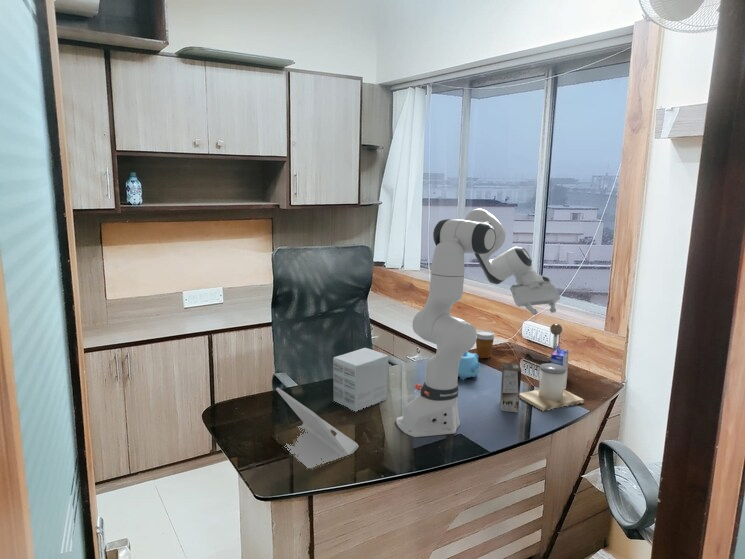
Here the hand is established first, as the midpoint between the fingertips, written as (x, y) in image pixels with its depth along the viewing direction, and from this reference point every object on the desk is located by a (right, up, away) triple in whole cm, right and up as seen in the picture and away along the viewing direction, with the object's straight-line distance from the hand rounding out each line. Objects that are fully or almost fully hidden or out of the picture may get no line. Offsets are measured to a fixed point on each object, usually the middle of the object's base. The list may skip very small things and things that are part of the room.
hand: (544, 313), depth 201 cm
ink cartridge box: (+13, -30, +22) cm, 40 cm away
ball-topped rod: (+3, -14, -4) cm, 14 cm away
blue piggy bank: (-28, -29, +24) cm, 47 cm away
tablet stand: (-86, -40, -36) cm, 101 cm away
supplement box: (-72, -34, -3) cm, 79 cm away
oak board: (+2, -34, 0) cm, 34 cm away
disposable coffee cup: (-13, -25, +49) cm, 57 cm away
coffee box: (-16, -35, -6) cm, 39 cm away
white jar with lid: (+2, -33, 0) cm, 33 cm away
